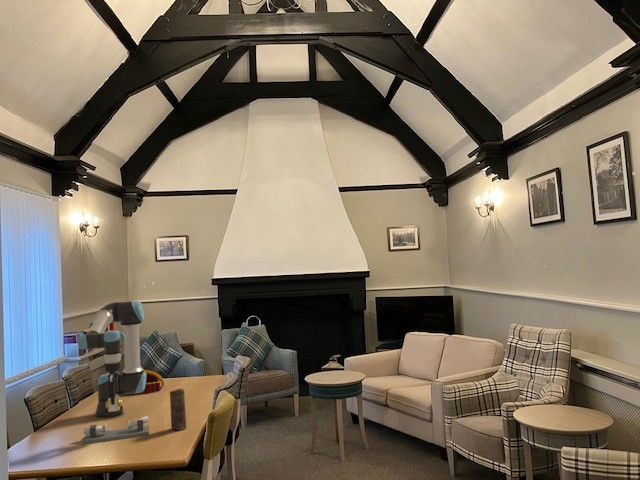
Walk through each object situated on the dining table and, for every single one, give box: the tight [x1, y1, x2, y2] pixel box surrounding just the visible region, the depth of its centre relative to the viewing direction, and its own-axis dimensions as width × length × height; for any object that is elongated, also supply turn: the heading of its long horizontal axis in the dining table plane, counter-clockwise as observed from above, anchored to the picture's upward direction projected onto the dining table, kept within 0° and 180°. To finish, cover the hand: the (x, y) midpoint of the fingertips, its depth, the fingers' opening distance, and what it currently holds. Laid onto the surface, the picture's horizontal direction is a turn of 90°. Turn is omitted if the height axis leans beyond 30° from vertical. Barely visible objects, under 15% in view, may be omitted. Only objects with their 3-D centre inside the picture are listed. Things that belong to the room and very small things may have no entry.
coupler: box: [106, 395, 123, 412], centre depth 253 cm, size 7×4×6 cm, turn 103°
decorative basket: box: [120, 369, 165, 396], centre depth 356 cm, size 34×29×15 cm
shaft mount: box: [82, 415, 150, 445], centre depth 255 cm, size 30×12×8 cm, turn 108°
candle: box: [169, 388, 187, 430], centre depth 262 cm, size 8×7×20 cm
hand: (114, 409), depth 253 cm, fingers closed on coupler, 4 cm apart
